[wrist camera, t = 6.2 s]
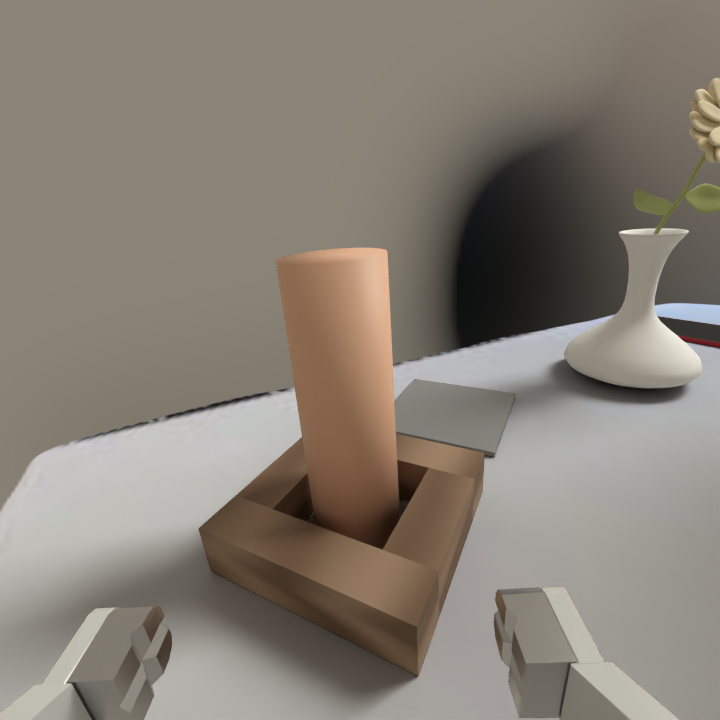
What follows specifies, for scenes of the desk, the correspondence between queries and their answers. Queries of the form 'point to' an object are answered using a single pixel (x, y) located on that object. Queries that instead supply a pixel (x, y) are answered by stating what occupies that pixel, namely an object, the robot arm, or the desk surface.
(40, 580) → the desk surface
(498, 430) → the mat
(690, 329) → the smartphone
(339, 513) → the peg
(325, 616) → the holder
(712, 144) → the flower in vase
